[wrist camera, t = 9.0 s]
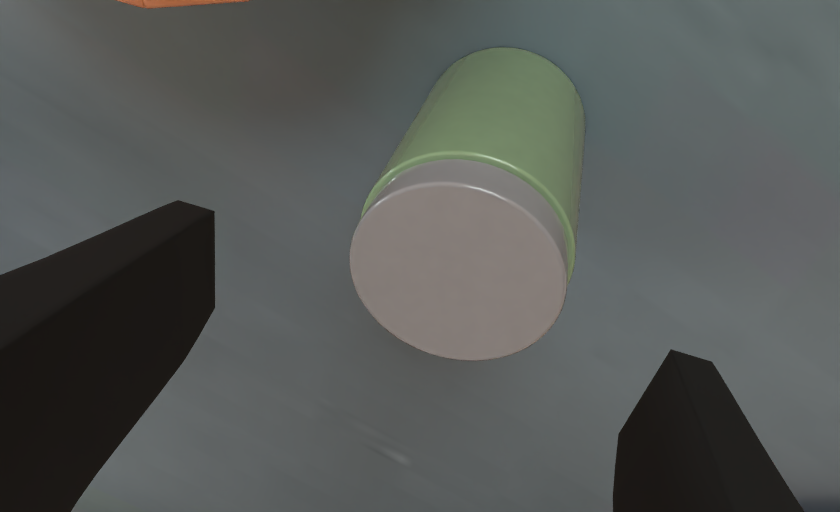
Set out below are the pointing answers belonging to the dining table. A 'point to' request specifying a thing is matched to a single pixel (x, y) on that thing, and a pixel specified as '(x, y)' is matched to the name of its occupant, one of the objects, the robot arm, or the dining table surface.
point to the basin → (175, 3)
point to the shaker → (477, 211)
